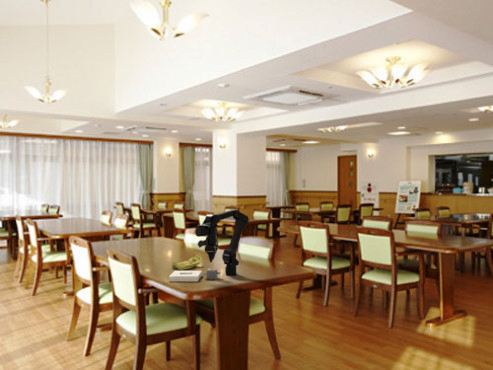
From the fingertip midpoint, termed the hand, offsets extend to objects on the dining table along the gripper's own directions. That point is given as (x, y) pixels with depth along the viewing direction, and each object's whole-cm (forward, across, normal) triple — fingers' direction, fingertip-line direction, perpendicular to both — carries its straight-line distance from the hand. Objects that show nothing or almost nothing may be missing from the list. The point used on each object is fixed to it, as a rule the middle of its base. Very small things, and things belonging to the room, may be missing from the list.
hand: (211, 260), depth 253 cm
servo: (+11, 0, 0) cm, 11 cm away
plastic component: (+11, -33, -21) cm, 40 cm away
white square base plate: (+11, 0, -16) cm, 19 cm away
